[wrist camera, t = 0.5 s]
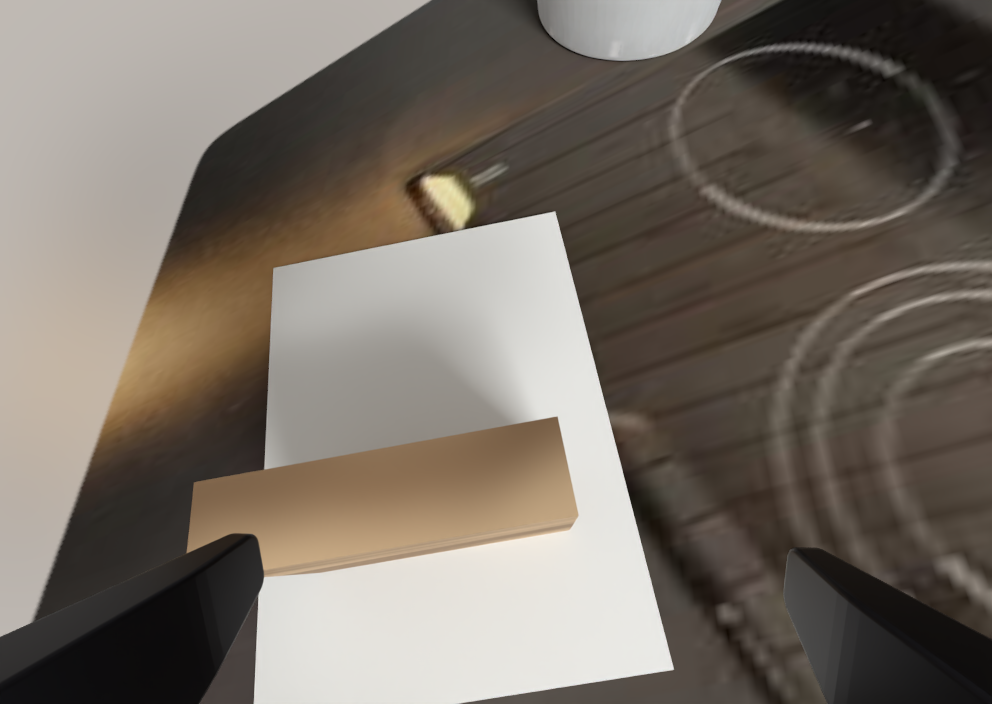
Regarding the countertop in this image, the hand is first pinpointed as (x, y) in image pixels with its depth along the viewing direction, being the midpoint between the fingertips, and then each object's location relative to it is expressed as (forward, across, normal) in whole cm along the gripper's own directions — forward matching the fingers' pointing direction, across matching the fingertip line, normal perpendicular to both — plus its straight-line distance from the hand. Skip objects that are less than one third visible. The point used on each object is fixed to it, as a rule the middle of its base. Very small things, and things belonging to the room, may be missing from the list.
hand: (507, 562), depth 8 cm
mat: (+16, +5, +4) cm, 17 cm away
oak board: (+13, +5, +8) cm, 16 cm away
